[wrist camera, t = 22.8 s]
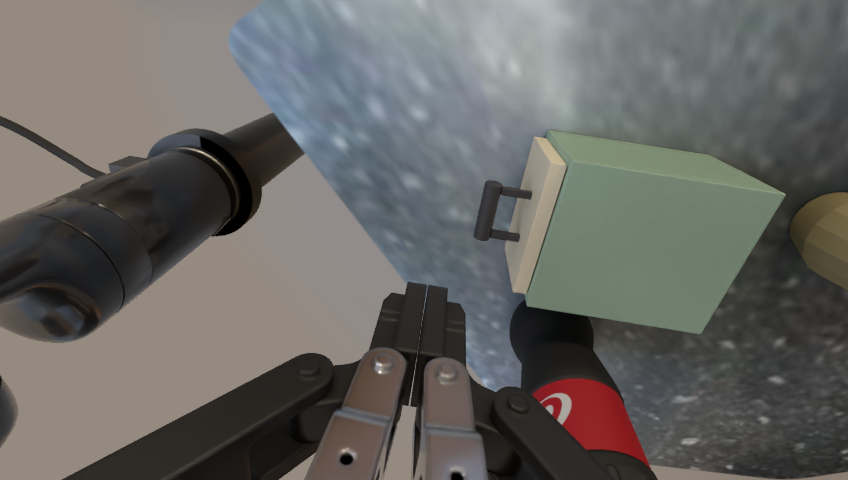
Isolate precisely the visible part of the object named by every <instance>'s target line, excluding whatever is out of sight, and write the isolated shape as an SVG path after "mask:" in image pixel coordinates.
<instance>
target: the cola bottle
mask: <svg viewBox="0 0 848 480" xmlns="http://www.w3.org/2000/svg"><path fill="white" fill-rule="evenodd" d="M510 341H511V345H512V348H513V350H514V352H515V354H516V356H517V357H518V359H519V360H520V362H521V363H522V372H521V389H523V390H525V391H527V392H529V393H530V394H531V395H532V396H534V397H535V398H536V399H537V400H538V401H539V402H540V403H541V404H542V405H543V406H544V407H545V408H546V409H547V410H548V411H549V412H550V413H551V414H552V415H553V416H554V418H555V419H556V420H557V421H558V422H559V423H560V424H561V425H562V426H563V427H564V428H565V429H566V430H567V431H568V432H569V433H570V434H571V435H572V436H573V437H574V438H575V439H576V440H577V441H578V442H579V443H580V444H581V445H582V446H583V447H584V448H585V449H586V450H587V451H588V452H589V453H590V454H591V455H592V456H593V457H594V458H595V459H596V460H597V461H598V462H599V463H600V464H601V465H602V466H603V467H604V468H605V469H606V470H607V471H608V472H609V473H610V474H611V475H612V476H613V477H614V478H615V479H616V480H657V477H656V476H655V474H654V473H653V471H652V470H651V468H650V466H649V463H648V461H647V459H646V456H645V454H644V452H643V449H642V447H641V444H640V442H639V440H638V437H637V435H636V433H635V430H634V428H633V426H632V423H631V421H630V419H629V416H628V414H627V412H626V409H625V407H624V401H623V398H622V396H621V393H620V391H619V389H618V387H617V386H616V384H615V382H614V381H613V379H612V378H611V376H610V375H609V373H608V372H607V370H606V369H605V367H604V366H603V364H602V363H601V361H600V360H599V358H598V357H597V355H596V353H595V352H594V350H593V344H594V334H593V328H592V325H591V322H590V320H589V318H588V316H584V315H578V314H572V313H565V312H559V311H553V310H547V309H541V308H535V307H529V306H527V305H526V300H524V301H523V302H521V303H520V304H519V306H518V307H517V308H516V310H515V311H514V313H513V316H512V319H511V323H510Z"/></svg>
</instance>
